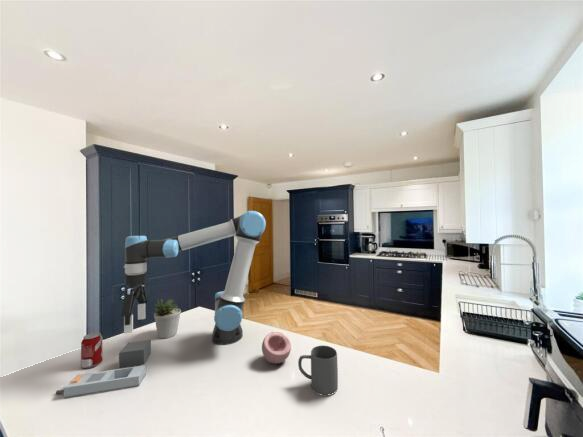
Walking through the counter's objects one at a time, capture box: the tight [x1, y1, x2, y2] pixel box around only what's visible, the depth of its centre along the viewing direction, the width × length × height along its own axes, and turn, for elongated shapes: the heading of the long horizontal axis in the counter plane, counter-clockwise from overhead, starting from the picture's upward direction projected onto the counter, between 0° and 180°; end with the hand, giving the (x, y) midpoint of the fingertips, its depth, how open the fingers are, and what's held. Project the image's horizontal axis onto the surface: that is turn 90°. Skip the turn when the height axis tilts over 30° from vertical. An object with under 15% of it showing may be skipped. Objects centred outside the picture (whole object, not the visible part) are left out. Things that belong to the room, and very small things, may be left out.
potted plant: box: [149, 298, 182, 339], centre depth 124 cm, size 13×14×20 cm
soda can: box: [80, 331, 104, 369], centre depth 98 cm, size 7×7×12 cm
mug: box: [297, 345, 339, 396], centre depth 82 cm, size 14×9×12 cm
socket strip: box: [55, 364, 147, 399], centre depth 84 cm, size 26×7×4 cm, turn 105°
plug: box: [118, 339, 152, 369], centre depth 96 cm, size 9×8×8 cm
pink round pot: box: [261, 331, 292, 365], centre depth 98 cm, size 12×12×11 cm
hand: (135, 325), depth 97 cm, fingers open, 13 cm apart
